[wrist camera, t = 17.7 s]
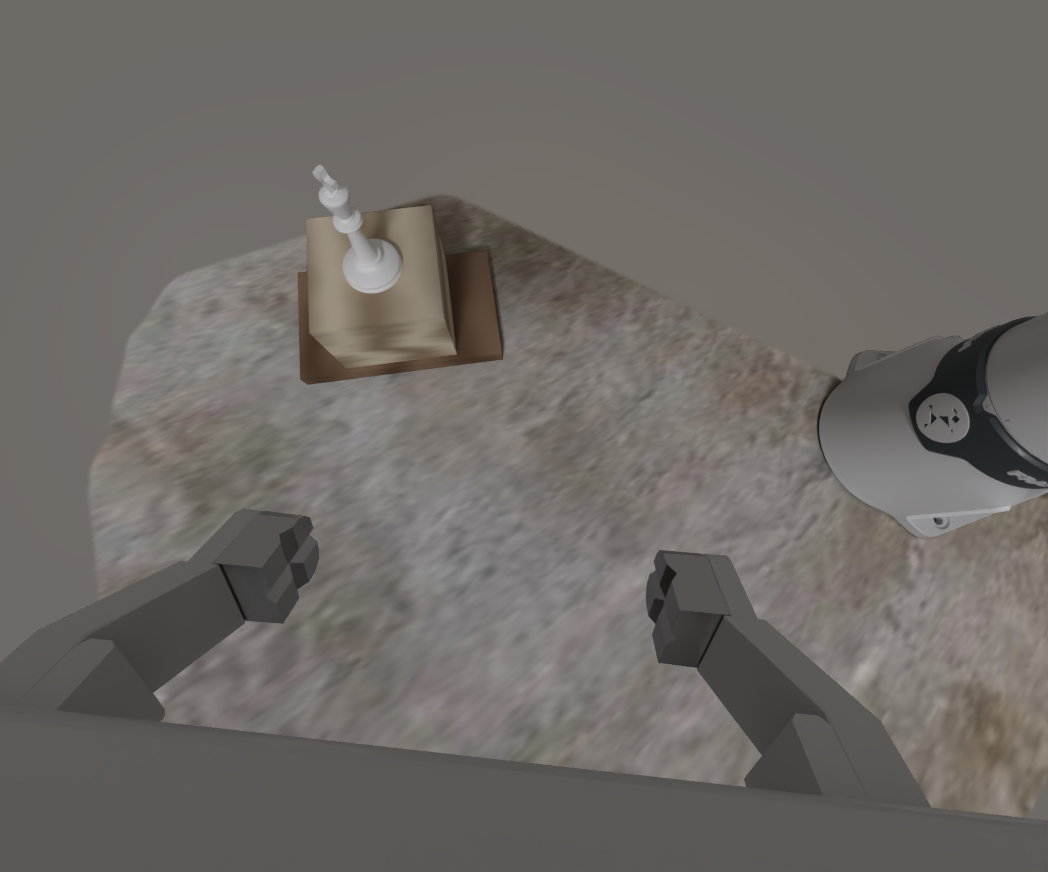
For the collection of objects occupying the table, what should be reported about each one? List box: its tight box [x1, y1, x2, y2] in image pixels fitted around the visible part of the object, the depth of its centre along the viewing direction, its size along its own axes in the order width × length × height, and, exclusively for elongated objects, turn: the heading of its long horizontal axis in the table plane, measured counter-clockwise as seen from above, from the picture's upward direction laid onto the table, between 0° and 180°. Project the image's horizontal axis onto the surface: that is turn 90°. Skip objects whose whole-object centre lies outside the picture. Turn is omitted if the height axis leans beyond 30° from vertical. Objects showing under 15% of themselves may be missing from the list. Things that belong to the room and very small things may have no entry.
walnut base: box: [298, 205, 503, 384], centre depth 40 cm, size 20×12×9 cm, turn 98°
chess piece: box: [312, 165, 403, 294], centre depth 31 cm, size 5×5×10 cm
